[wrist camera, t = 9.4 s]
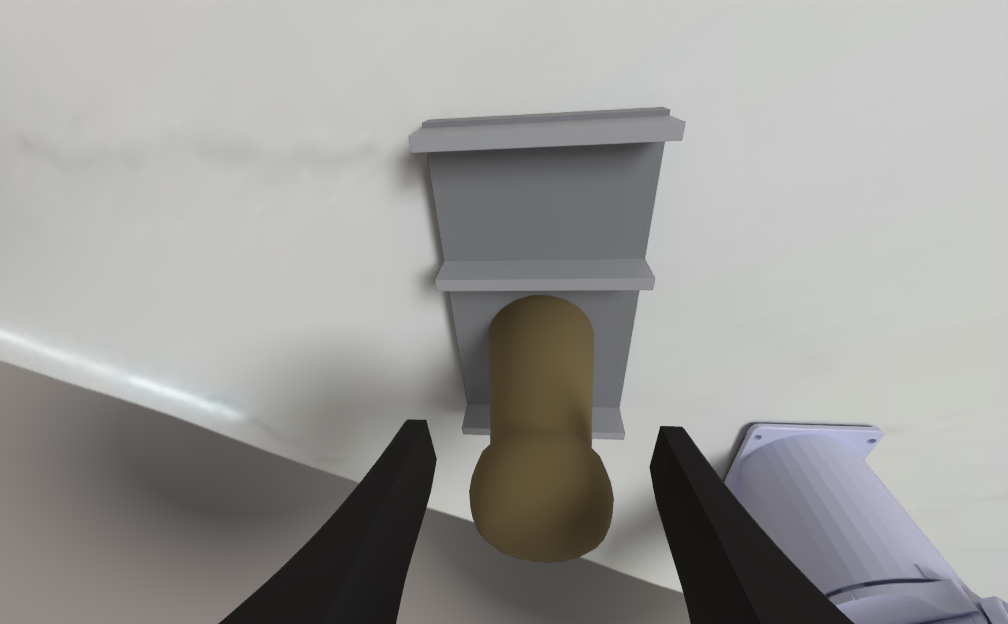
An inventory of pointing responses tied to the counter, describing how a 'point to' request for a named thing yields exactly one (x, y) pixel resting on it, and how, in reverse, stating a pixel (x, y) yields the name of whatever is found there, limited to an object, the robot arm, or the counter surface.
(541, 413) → the cork
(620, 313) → the rack
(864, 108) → the counter surface
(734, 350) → the counter surface
